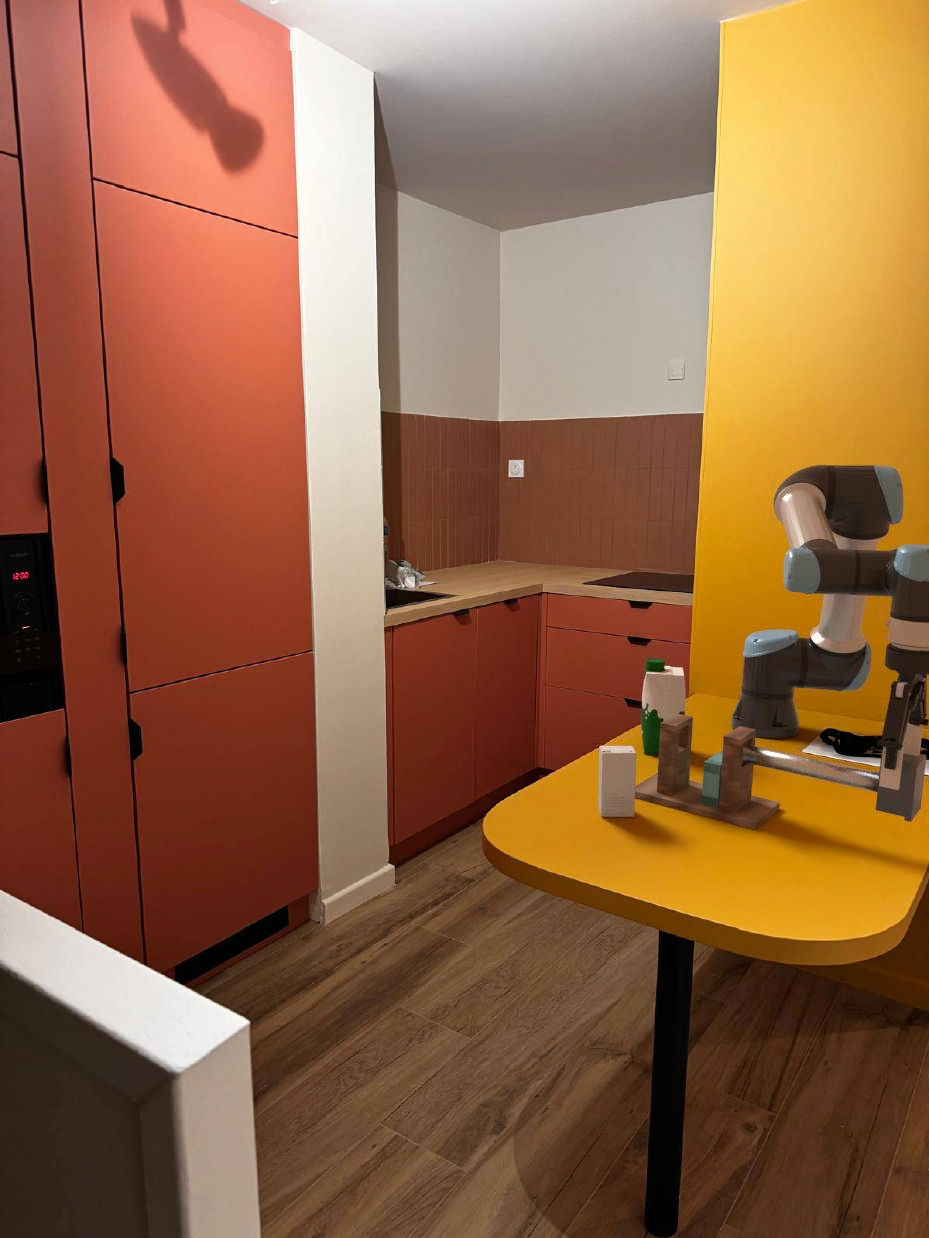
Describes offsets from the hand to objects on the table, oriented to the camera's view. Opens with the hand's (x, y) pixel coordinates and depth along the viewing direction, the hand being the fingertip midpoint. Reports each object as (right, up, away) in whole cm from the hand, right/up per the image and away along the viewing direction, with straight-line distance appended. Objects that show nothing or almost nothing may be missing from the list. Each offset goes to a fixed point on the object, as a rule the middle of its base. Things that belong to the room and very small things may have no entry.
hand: (899, 774), depth 139 cm
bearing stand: (-25, -9, +22) cm, 35 cm away
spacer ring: (-23, -8, +20) cm, 32 cm away
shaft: (-9, -4, +8) cm, 13 cm away
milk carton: (-27, -4, +50) cm, 57 cm away
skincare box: (-43, -10, +16) cm, 47 cm away
